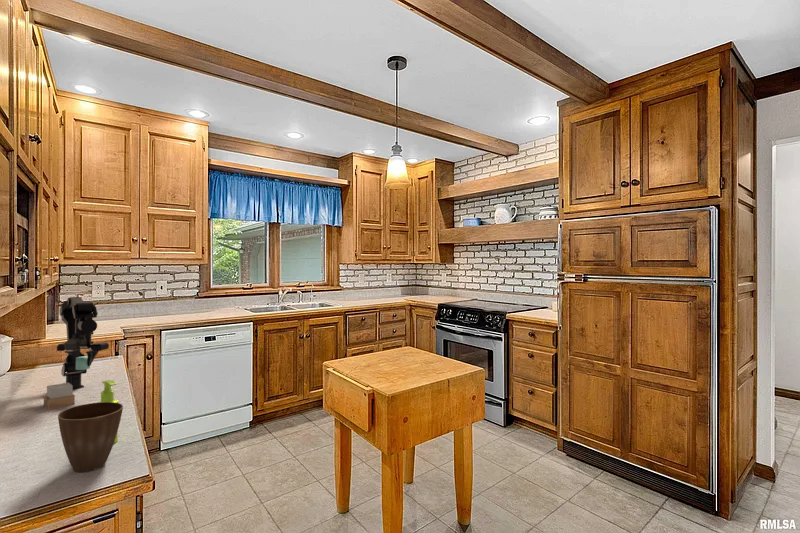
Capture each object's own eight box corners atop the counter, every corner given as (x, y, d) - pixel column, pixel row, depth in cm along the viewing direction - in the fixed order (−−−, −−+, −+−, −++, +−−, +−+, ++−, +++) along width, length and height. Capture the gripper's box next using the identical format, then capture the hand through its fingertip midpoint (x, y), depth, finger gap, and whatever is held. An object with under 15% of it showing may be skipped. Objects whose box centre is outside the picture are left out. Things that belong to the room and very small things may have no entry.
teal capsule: (73, 368, 182) (73, 357, 182) (87, 366, 186) (87, 355, 186) (78, 370, 179) (78, 358, 179) (91, 368, 183) (92, 356, 183)
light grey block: (46, 395, 170) (46, 385, 170) (68, 391, 175) (68, 382, 175) (50, 399, 165) (50, 389, 165) (72, 395, 170) (72, 385, 170)
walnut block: (43, 405, 169) (43, 396, 169) (67, 401, 175) (68, 391, 176) (49, 410, 164) (50, 400, 164) (74, 404, 171) (74, 395, 171)
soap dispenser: (101, 449, 130) (103, 384, 130) (91, 443, 133) (93, 381, 133) (122, 442, 135) (123, 380, 135) (112, 437, 138) (113, 377, 138)
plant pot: (124, 450, 129) (125, 399, 129) (118, 471, 115) (119, 414, 116) (63, 460, 121) (64, 406, 122) (49, 484, 108) (51, 422, 108)
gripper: (46, 333, 174) (45, 370, 174) (92, 333, 175) (91, 370, 175) (66, 329, 185) (66, 364, 185) (109, 329, 186) (109, 364, 186)
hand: (82, 366), depth 182 cm, fingers closed on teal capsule, 5 cm apart
